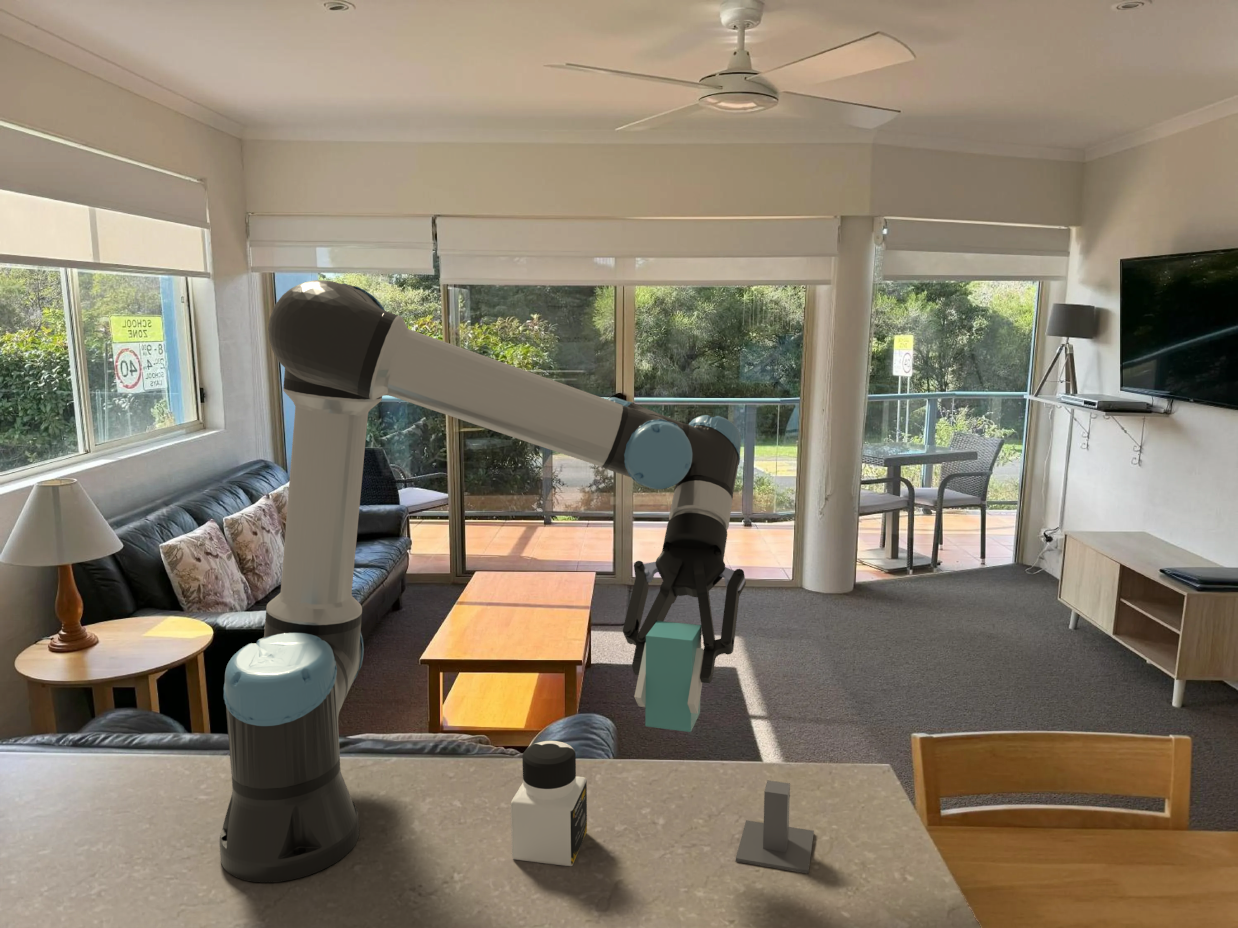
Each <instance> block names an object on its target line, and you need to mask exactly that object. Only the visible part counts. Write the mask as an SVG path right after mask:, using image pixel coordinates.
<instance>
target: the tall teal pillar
mask: <svg viewBox="0 0 1238 928" xmlns="http://www.w3.org/2000/svg"><path fill="white" fill-rule="evenodd" d="M696 648H702V627H701V624H696V623H695V624H693V623H684V622H675V621H674V622H673V621H665V620H664V621H657V622H656V623H655V624H654V626H653V627H652V628H651V630H650V631H649V632H648V634H647V635H646V706H645V707H644V708H645V711H644V712H645V714H644V715H645V727H649V728H654V729H656V728H657V729H662V730H663V729H664V730H671V731H678V732H679V731H680V732H685V733H686V732H689V733H692V731H693V728H694V727H695V725H696V723H697V719H698V718H699V716H700V714H701V700H700V701H699V708H698V714H696V713H691V712H690V709H689V706H688V704H687V703H688V697H689V691H690V685H691V679H692V673H693V667H694V661H695V654H696Z"/></svg>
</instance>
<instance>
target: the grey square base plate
mask: <svg viewBox="0 0 1238 928" xmlns="http://www.w3.org/2000/svg"><path fill="white" fill-rule="evenodd" d="M790 793H791V783H789V782H784V781H783V782H782V781H775V780H768V779H767V780H766V784H765V788H764V794H763V795H764V797H763V822H762V821H761V822H760V821H754V820H749V819H748V820H747V819H745V823H744V827H743V831H742V833H741V837H740V841H739V845H738V847H737V852H736V855H735V862H737V863H743V864H748V865H755V866H761V867H766V868H767V867H768V868H771V869H772V868H774V869H779V870H786V871H791V872H797V873H800V874H801V873H802V874H809V871H810V866H811V864H810V863H811V859H812V857H811V856H812V851H813V850H812V849H813V842H814V835H815V834H814V833H815V832H814V830H812V829H807V828H805V829H804V828H800V827H799V828H798V827H793V826H790V798H791V795H790Z"/></svg>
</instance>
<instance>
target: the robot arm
mask: <svg viewBox="0 0 1238 928" xmlns="http://www.w3.org/2000/svg"><path fill="white" fill-rule="evenodd" d="M270 313H271V314H270V315H269V321H268V340H269V344H270V347H271V350H272V353H273V354H274V356H275V358H276V359H277V361H278V362H279V364H280V365H282V367H284V375H283V387H282V388H283V392H284V394H286V395H287V397H288V398H289V399H290V400H291V401H292V402H293V404H294V408H295V409H294V419H293V433H292V443H291V445H292V446H291V458H290V470H289V480H288V481H289V484H288V496H287V507H286V520H285V521H286V522H285V534H284V544H283V545H284V546H283V557H282V559H283V560H282V571H281V580H280V581H281V582H280V583H281V584H280V592H279V593H278V594H277V595H276V596H275V597H273V598H271V600H270V601H269V602H268V603H267V604H266V608H265V621H264V633H263V634H264V635H263V637H262V638H259V639H258V640H256V643H252V642H251V643H248V644H246V645H245V646H242V648H240V649H239V650H238V651H236V653H234V654H233V655H232V657H231V658H230V660H229V661H228V663H227V665H226V668H225V672H224V684H223V700H224V704H225V712H226V722H227V723H226V725H227V735H228V747H229V749H228V750H229V761H230V762H229V763H230V774H231V786H232V788H231V789H232V791H231V795H230V800H229V802H228V806H227V809H226V810H227V811H226V813H225V816H224V820H223V821H224V822H223V824H222V828H221V832H220V835H219V841H218V842H219V856H220V857H219V859H220V863H221V865H222V867H223V869H224V870H225V871H226V872H227V873H228V874H230V875H231V876H233V877H235V878H237V879H240V880H244V881H248V882H252V883H253V882H254V883H255V882H256V883H279V882H287V881H292V880H296V879H301V878H303V877H307V876H310V875H312V874H313V875H314V874H315V873H318V872H320V871H323V870H325V869H327V868H329V867H331V866H332V865H334V864H335V863H337V862H339V861H341V860H342V859H343V858H344V857H345V856H347V855H348V854H349V853H350V852H351V851H352V849H353V848H354V847H355V845H356V843H357V842H358V839H359V837H360V819H359V817H360V816H359V812H358V808H357V806H356V805H355V803H354V801H353V800H352V797H351V795H350V792H349V790H348V787H347V784H346V782H345V778H344V777H343V774H342V771H341V770H342V769H341V758H340V757H341V754H340V752H341V751H340V738H339V714H340V711H341V710H342V706H343V704H344V702H345V700H346V698H347V696H348V693H349V691H350V689H351V687H352V684H353V683H354V681H355V680H356V678H357V677H358V674H359V671H360V670H361V667H362V665H363V660H364V652H365V651H364V648H365V647H364V638H363V635H362V634H363V633H362V631H361V628H362V616H363V607H362V605H361V603H360V602H359V601H358V600H356V599H357V598H355V597H354V596H353V593H352V592H353V582H354V574H355V573H354V572H355V562H356V549H357V540H358V539H357V538H358V527H359V517H360V515H359V514H360V505H361V497H362V496H361V495H362V493H361V492H362V485H363V484H362V483H363V472H364V462H365V461H364V459H365V449H366V439H367V428H368V419H369V418H368V417H369V416H368V415H369V412H370V411H371V410H372V409H373V408H374V407H376V406H377V405H378V404H379V403H380V402H381V401H382V400H383V396H390V397H392V398H395V399H399V400H401V401H404V402H407V403H410V404H414V405H415V406H418V407H423V408H425V409H428V410H432V411H435V412H437V413H440V414H443V415H447V416H449V417H452V418H455V419H458V420H462V421H464V422H467V423H469V424H473V425H476V426H478V427H481V428H485V429H487V430H491V431H494V432H497V433H500V434H503V435H505V436H509V437H511V438H515V439H516V440H521V441H524V442H526V443H529V444H532V445H535V446H539V447H542V448H545V449H548V450H550V451H553V452H557V453H559V454H562V455H565V456H568V457H571V458H574V459H577V460H580V461H582V462H585V463H586V462H587V463H589V464H592V465H595V466H598V467H600V468H604V469H606V470H609V471H611V472H614V473H617V474H620V475H623V476H625V477H628V478H631V479H632V480H633V481H635V482H636V483H637V484H639V485H640V486H643V487H646V488H649V489H654V490H665V489H668V488H671V487H673V486H674V489H673V496H672V500H671V506H670V509H669V515H668V522H667V524H666V525H667V526H666V529H665V535H664V540H663V545H662V550H661V553H660V554H659V555H658V556H657V558H656V560H655V561H653V562H647V563H644V562H643V561H641V560H636V561H635V562H634V563H633V570H634V576H635V578H634V583H633V587H632V591H631V594H630V598H629V599H630V600H629V602H628V608H627V610H626V614H625V615H626V616H625V619H624V624H623V628H622V633H623V636H624V638H625V640H626V642H627V644H629V645H634V646H635V650H634V654H633V658H632V664H631V666H632V667H631V668H632V671H633V673H634V675H636V676H638V677H637V681H636V687H635V691H634V699H635V702H636V704H637V706H638V707H642V708H645V706H646V635H647V634H648V632H649V631H650V630H651V628H652V627H653V626H654V624H655V623H656V622H657V621H665V619H666V616H667V615H668V613H669V612H670V609H671V607H672V605H673V604H674V603H675V602H676V600H677V598H678V597H684V596H690V597H692V598H697V602H698V609H699V619H700V625H701V635H702V644H703V648H702V647H701V648H696V654H695V661H694V667H693V673H692V679H691V685H690V691H689V697H688V703H687V704H688V706H689V709H690V712H691V713H696V714H698V708H699V701H700V702H701V695H702V694H701V693H702V688H703V684H711V682H712V680H713V676H714V672H715V671H714V670H715V664H716V658H717V657H718V656H720V655H724V654H725V655H731V654H733V652H734V648H735V639H736V631H737V630H736V628H737V620H738V610H739V602H740V596H741V595H742V592H743V590H744V588H745V587H746V584H747V582H746V576H745V572H744V571H745V570H743V569H741V568H736V569H735V570H734V569H731V568H728V567H726V563H725V561H724V560H725V558H724V557H725V551H726V547H727V541H728V538H727V537H728V529H729V526H730V519H731V513H732V508H733V507H732V506H733V497H734V493H735V492H734V491H735V487H736V486H735V485H736V481H737V474H738V469H739V466H740V463H741V447H742V445H741V444H742V443H741V442H742V440H741V439H742V438H741V437H742V436H741V432H740V431H739V430H740V429H738V426H736V425H735V424H734V423H733V422H732V421H730V420H729V419H728V418H725V417H722V416H721V415H720V416H719V415H715V416H710V415H708V414H702V415H699V416H697V417H695V418H693V419H692V420H691V421H690V422H689V423H686V422H685V423H684V422H680V421H677V420H675V419H673V418H671V417H668V416H666V415H663V414H661V413H659V412H656V411H653V410H651V409H648V408H646V407H644V406H641V405H638V404H636V403H635V402H632V401H628V400H625V399H622V398H618V397H615V396H612V397H609V398H608V399H607V398H604V397H601V396H598V395H595V394H592V393H590V392H588V391H585V390H581V389H578V388H576V387H573V386H570V385H567V384H565V383H561V382H559V381H556V380H553V379H550V378H547V377H545V376H542V375H539V374H536V373H534V372H530V371H527V370H525V369H522V368H519V367H516V366H514V365H511V364H509V363H505V362H502V361H500V360H497V359H494V358H492V357H489V356H486V355H483V354H480V353H477V352H475V351H472V350H469V349H467V348H464V347H460V346H457V345H455V344H452V343H449V342H446V341H443V340H440V339H438V338H435V337H433V336H429V335H427V334H423V333H422V332H418V331H415V330H412V329H410V328H408V326H407V324H406V322H405V320H404V319H403V316H401V315H400V314H399V315H398V314H396V313H392V312H389V311H387V310H386V309H385V308H384V306H383V305H382V304H381V302H380V301H379V300H378V299H377V298H376V297H375V296H373V294H371V293H370V292H368V291H367V290H365V289H363V288H361V287H360V286H354V285H351V284H347V283H339V282H336V281H331V280H321V279H320V280H319V279H315V280H308V281H305V282H302V283H299V284H297V285H295V286H294V287H291V288H289V289H288V290H287V291H285V293H283V294H282V295H281V296H280V298H279V299H278V300H277V302H276V303H275V305H274V306H273V308H272V311H271V312H270ZM655 574H659V576H660V577H661V579H662V583H661V585H660V588H659V592H658V593H657V596H656V598H655V600H654V602H653V603H652V605H651V607H650V610H649V611H648V613H647V615H646V617H645V620H644V621H643V623H642V619H643V615H644V610H645V606H646V602H647V597H648V594H649V583H651V582H652V581H653V580H654V577H655ZM722 579H724V585H725V587H726V593H725V599H724V609H723V617H722V625H721V632H720V638H718V639H716V636H715V629H714V622H713V614H712V606H711V597H710V591H711V590H712V589H713V588H714V587H715V586H716V585H718V583H719V582H720V581H721V580H722ZM641 623H642V625H641Z"/></svg>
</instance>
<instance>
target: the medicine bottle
mask: <svg viewBox="0 0 1238 928" xmlns="http://www.w3.org/2000/svg"><path fill="white" fill-rule="evenodd" d="M576 758H577V757H576V751H575V749H574V748H573V747H572V746H571V745H570V744H567V743H566V742H562V741H556V740H544V741H540V742H535V743H533V744H531V745H530V746H528V747H526V749H525V750H524V752H523V753H522V783H521V785H520V786H519V788H518V789H517V791H516V793H515V794H514V796H513V798H512V799H511V802H510V822H511V823H510V828H511V829H510V831H511V833H510V834H511V858H512V859H513V860H515V861H516V860H517V861H524V862H530V863H538V864H539V863H540V864H549V865H555V866H556V865H557V866H563V867H572V866H573V865H574V864H575V860H576V858H577V855H578V854H579V851H580V849H581V846H582V844H583V842H584V840H585V838H586V835H587V833H588V815H587V814H588V811H587V810H588V807H587V805H588V800H587V798H588V797H587V796H588V795H587V794H588V793H587V792H588V791H587V789H588V788H587V786H588V785H587V778H586V777H584V776H577V763H576V762H577V761H576Z"/></svg>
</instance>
